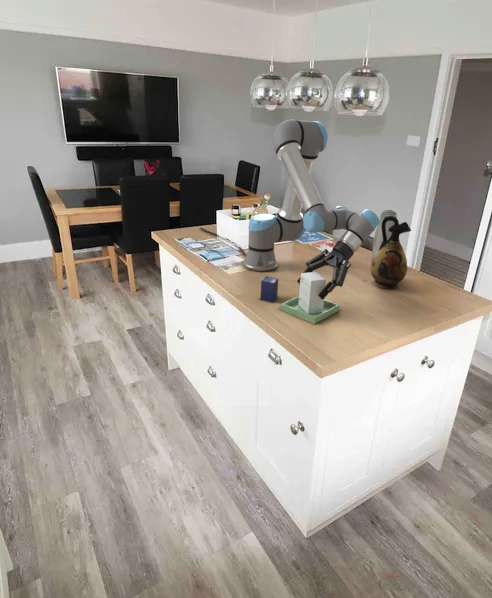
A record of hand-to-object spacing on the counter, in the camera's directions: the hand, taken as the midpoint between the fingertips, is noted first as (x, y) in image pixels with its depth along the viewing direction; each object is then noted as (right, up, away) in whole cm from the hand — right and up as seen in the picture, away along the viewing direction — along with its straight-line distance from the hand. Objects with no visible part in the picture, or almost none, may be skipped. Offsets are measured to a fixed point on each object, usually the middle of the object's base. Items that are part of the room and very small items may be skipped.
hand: (309, 290), depth 151 cm
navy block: (-15, -3, +10) cm, 19 cm away
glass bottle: (+37, +12, +53) cm, 66 cm away
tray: (0, -7, +4) cm, 8 cm away
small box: (+1, -7, +4) cm, 8 cm away
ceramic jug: (+34, +3, +33) cm, 47 cm away
